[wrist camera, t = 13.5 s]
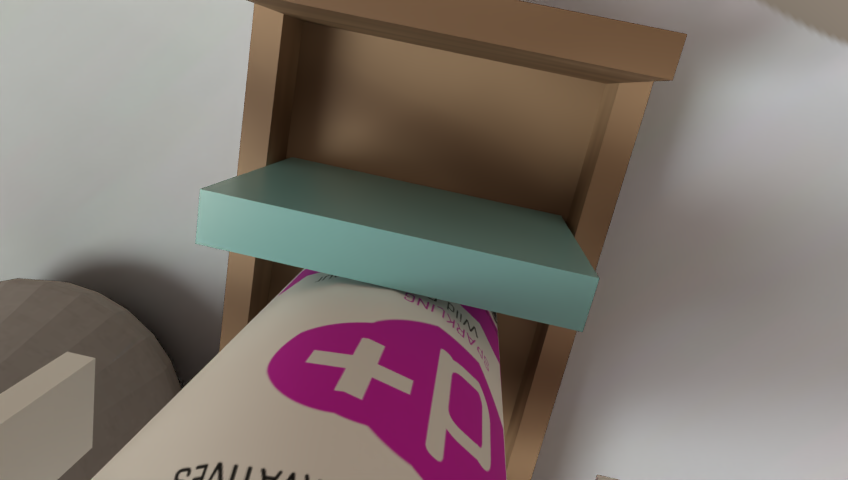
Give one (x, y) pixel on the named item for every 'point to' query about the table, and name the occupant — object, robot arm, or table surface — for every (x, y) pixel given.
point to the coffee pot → (94, 337)
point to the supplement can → (336, 394)
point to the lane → (455, 134)
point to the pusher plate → (403, 239)
